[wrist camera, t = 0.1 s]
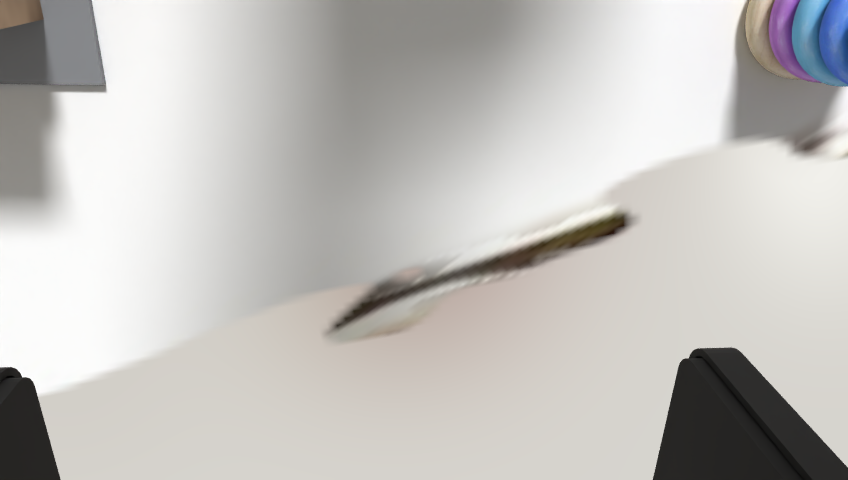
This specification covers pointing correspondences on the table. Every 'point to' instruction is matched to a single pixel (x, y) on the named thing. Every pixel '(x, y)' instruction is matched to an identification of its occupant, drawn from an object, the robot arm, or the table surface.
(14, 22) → the tower base
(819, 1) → the stacking toy
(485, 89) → the table surface
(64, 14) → the felt pad
